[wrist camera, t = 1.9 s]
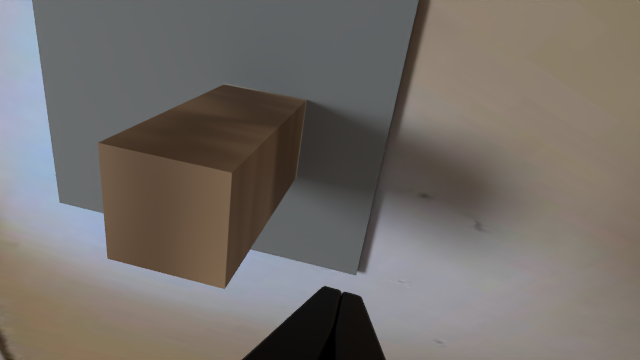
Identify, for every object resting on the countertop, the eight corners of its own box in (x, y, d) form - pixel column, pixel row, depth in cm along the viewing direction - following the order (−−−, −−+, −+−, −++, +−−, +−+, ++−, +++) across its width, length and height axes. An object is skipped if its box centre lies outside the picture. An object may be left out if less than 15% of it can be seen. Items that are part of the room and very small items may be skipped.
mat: (419, -3, 17) (419, -3, 17) (356, 270, 23) (356, 275, 23) (30, -66, 19) (23, -67, 19) (64, 199, 25) (59, 202, 25)
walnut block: (306, 99, 19) (231, 172, 11) (296, 177, 21) (224, 289, 13) (225, 83, 20) (97, 142, 12) (221, 160, 22) (107, 258, 13)
